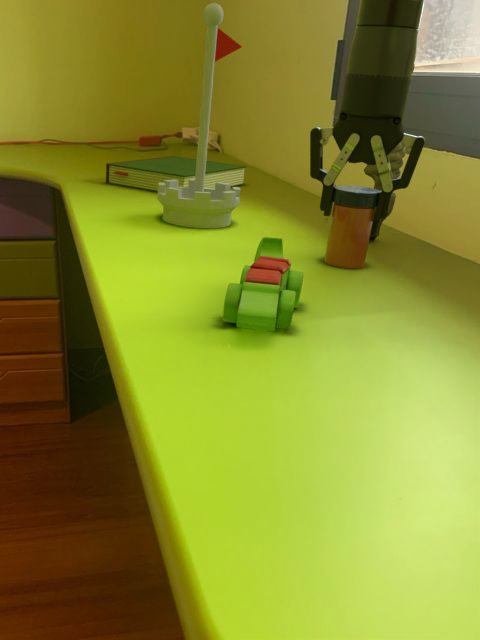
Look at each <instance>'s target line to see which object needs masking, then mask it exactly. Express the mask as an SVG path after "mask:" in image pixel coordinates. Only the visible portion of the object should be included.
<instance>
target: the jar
mask: <svg viewBox="0 0 480 640" xmlns="http://www.w3.org/2000/svg"><path fill="white" fill-rule="evenodd" d="M374 213H375V207H352V206H345V205H340V204H337V203H334V202H333V206H332V212H331V217H330V225H329V231H328V237H327V241H326V242H327V243H326V248H325V255H324V260H323V261H324V263H326V264H327V265H329V266H332V267H336V268H337V267H338V268H343V269H361V268H363V267H364V266H365V263H366V259H367V258H366V257H367V252H368V248H369V243H370V241H369V238H370V233H371V228H372V223H373V218H374Z"/></svg>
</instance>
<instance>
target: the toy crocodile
mask: <svg viewBox="0 0 480 640" xmlns="http://www.w3.org/2000/svg"><path fill="white" fill-rule="evenodd" d="M283 248H284V245H283V238H282V237H273V236H272V237H271V236H270V237H269V236H263V237H262V238H261V239H260V241H259V243H258V245H257V248H256V252H255V255H254V259H253V262H252V264H251V265H248V264H245V265H244V266H243V268H242V271H241V276H240V281H239V283H235V282H229V283H228V285H227V288H226V292H225V298H224V304H223V309H222V311H223V312H222V320H223V322H225V323H231V324H236V326H235V327H236V328H240V329H249V330H258V331H266V332H275V328H277V329H283V330H290V329H291V327H292V325H291V324H292V321H293V315H294V311H295V309H298V308H299V305H300V300H301V294H302V290H303V289H302V288H303V281H304V275H305V274H304V271H302V270H301V271H300V270H291V269H292V262H291V260H290V259H287V258H285V257H284V250H283Z"/></svg>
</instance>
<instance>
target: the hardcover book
mask: <svg viewBox="0 0 480 640" xmlns="http://www.w3.org/2000/svg"><path fill="white" fill-rule="evenodd" d="M196 161H197V158H191V157H185V156H178V155H168V156H159V157H152V158H144V159H143V158H141V159H134V160H124V161H116V162H108V163H107V162H106V163H105V165H106V166H105V184H110V185H115V186H119V187H126V188H131V189H136V190H137V189H138V190H144V191H149V192H155V193H158V183H164V181H165V180H178V181H179V183H178V187H188V182H189V179H190V180H195V174H196ZM245 168H247V165H241V164H236V163H228V162H219V161H213V160H206V170H205V182H204V188H212V189H215V183H216V182H221V183H227V184H231V187H230V188H232V187H240V186H244V185H245V182H244V179H245V176H244V175H245Z"/></svg>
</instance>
